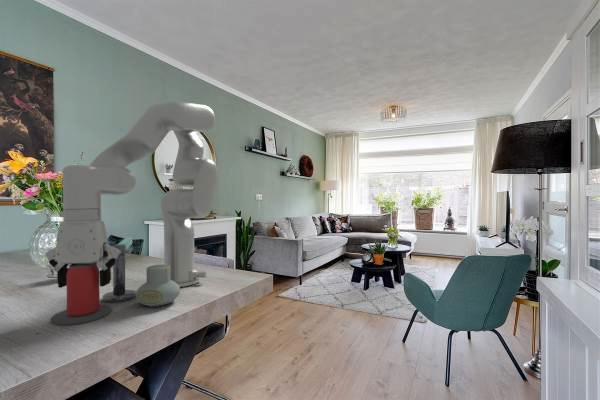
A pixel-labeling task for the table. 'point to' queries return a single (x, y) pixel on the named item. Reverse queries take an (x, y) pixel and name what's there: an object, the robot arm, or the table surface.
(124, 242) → the bar
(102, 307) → the rubber mat
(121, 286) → the clip post
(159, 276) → the air freshener
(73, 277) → the beer can
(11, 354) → the table surface
